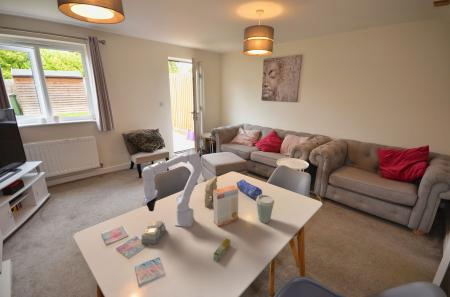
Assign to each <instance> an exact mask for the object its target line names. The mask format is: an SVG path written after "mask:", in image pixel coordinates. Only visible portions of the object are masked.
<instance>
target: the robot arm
mask: <svg viewBox="0 0 450 297" xmlns="http://www.w3.org/2000/svg"><path fill="white" fill-rule="evenodd" d="M180 163H184V164H188V163H189V164H190V165H191V167H192V170H191V173H190V175H189V177H188V178H187V179H188V180H187V182H186V184H185V185H184V188H183V190H182V192H180V194H179V196H177V198H176V205H177V207H176V209H175V211H176V222H175V223H174V226H175V227H187V228H188V227H189V228H191V227H192V224H193V222H194V220H195V216H194V209H193V208H190V206H189V203H190V201H191V197H192V194H193V192H194V189H195V188H196V185H197V182H198V180H199V178H200V175H201V174H202V172H203V163H202V158H201V156H200V155H199V153H198V151H197V150H196V149H190V150H187V151H184V152H182V153H181V154H178V155H176V156H174V157H172V158H170V159H168V160H166V161H164V160H158V161H157V162H155V163H154V164H150V165H148V166H144V168H143V169H142V172H141V177H142V183H143V195H142V198H143V200H142V202H141V205H142V206H143V207H146V206H147V209H148V211H149V212H154V210H155V206H156V202H157V199H158V197H157V194H158V193H159V191H158V190H157V189H156V186H155V185H156V184H155V179H154V177H155V176H157V175H159V174H161V173H164V172H166V171H167V170H168V168H170V167H172V166H175V165H177V164H180Z"/></svg>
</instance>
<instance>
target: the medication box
mask: <svg viewBox="0 0 450 297" xmlns="http://www.w3.org/2000/svg"><path fill="white" fill-rule="evenodd" d="M230 246H231V239H229V238H228V237H225V238H224V239H223V241H222V242H221V244H220V245H219V246H218V247H217V249H216V250H215V251H214V253H213V261H214V262H217V263H218V262H219V261H220V260H221V259H222V257H223V256H224V254H225V253H226V251H227V250H228V249H229V248H230Z"/></svg>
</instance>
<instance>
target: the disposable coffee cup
mask: <svg viewBox="0 0 450 297" xmlns="http://www.w3.org/2000/svg"><path fill="white" fill-rule="evenodd" d="M255 202H256V207H257V208H256V209H257V216H258V221H259V222H260V223H263V224H268V223H269V222H270V221H271V217H272V213H273V209H274V204H275V200H274V198H273V197H272V196H270V195H268V194H263V193H262V194H261V195H259V196H258V197H257V199H256V200H255Z"/></svg>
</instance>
